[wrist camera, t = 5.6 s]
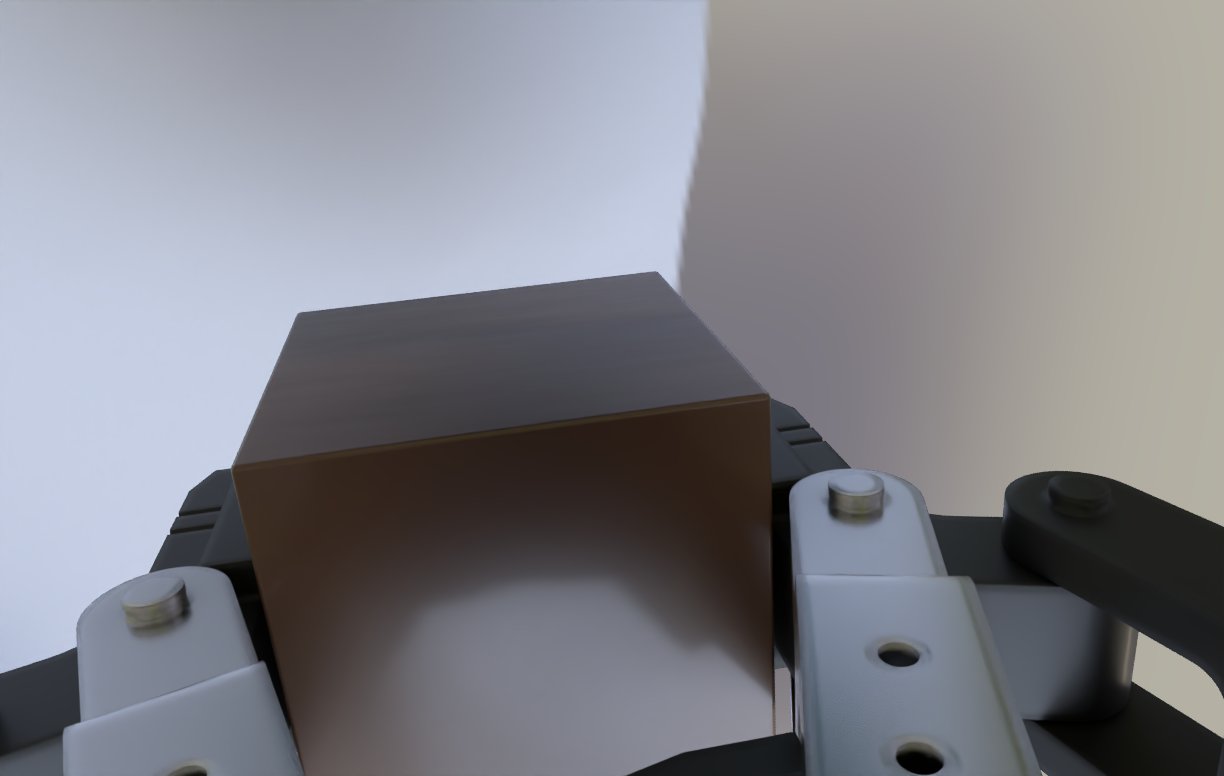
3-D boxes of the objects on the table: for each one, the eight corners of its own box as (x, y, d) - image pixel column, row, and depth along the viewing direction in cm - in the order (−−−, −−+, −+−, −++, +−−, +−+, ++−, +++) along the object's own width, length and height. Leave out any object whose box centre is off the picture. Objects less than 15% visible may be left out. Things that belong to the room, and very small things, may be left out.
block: (358, 624, 14) (328, 890, 10) (296, 312, 12) (228, 468, 8) (675, 573, 15) (778, 802, 10) (657, 269, 13) (773, 393, 9)
